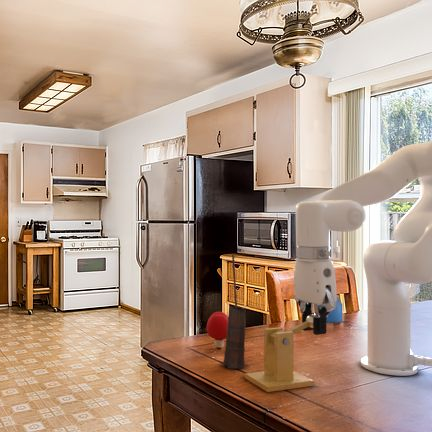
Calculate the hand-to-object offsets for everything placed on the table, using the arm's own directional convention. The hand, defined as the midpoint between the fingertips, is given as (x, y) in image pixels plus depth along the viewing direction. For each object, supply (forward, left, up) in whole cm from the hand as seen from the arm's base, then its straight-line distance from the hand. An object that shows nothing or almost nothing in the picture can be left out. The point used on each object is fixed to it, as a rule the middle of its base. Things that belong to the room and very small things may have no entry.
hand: (314, 331), depth 111 cm
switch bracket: (+7, +7, -11) cm, 15 cm away
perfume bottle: (-2, -65, -11) cm, 66 cm away
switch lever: (+3, +3, -1) cm, 4 cm away
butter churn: (+18, 0, -11) cm, 21 cm away
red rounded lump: (+26, -14, -11) cm, 32 cm away
